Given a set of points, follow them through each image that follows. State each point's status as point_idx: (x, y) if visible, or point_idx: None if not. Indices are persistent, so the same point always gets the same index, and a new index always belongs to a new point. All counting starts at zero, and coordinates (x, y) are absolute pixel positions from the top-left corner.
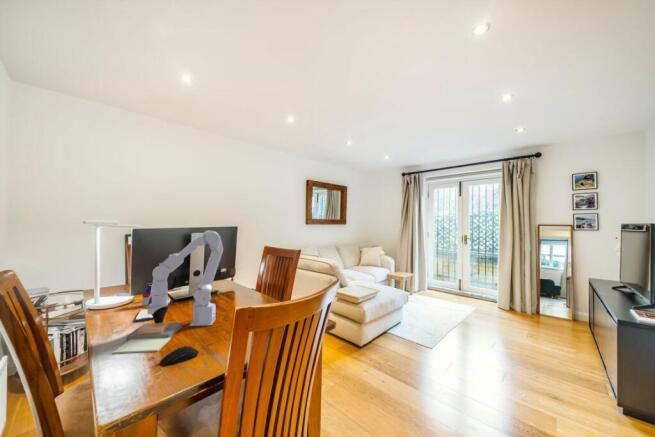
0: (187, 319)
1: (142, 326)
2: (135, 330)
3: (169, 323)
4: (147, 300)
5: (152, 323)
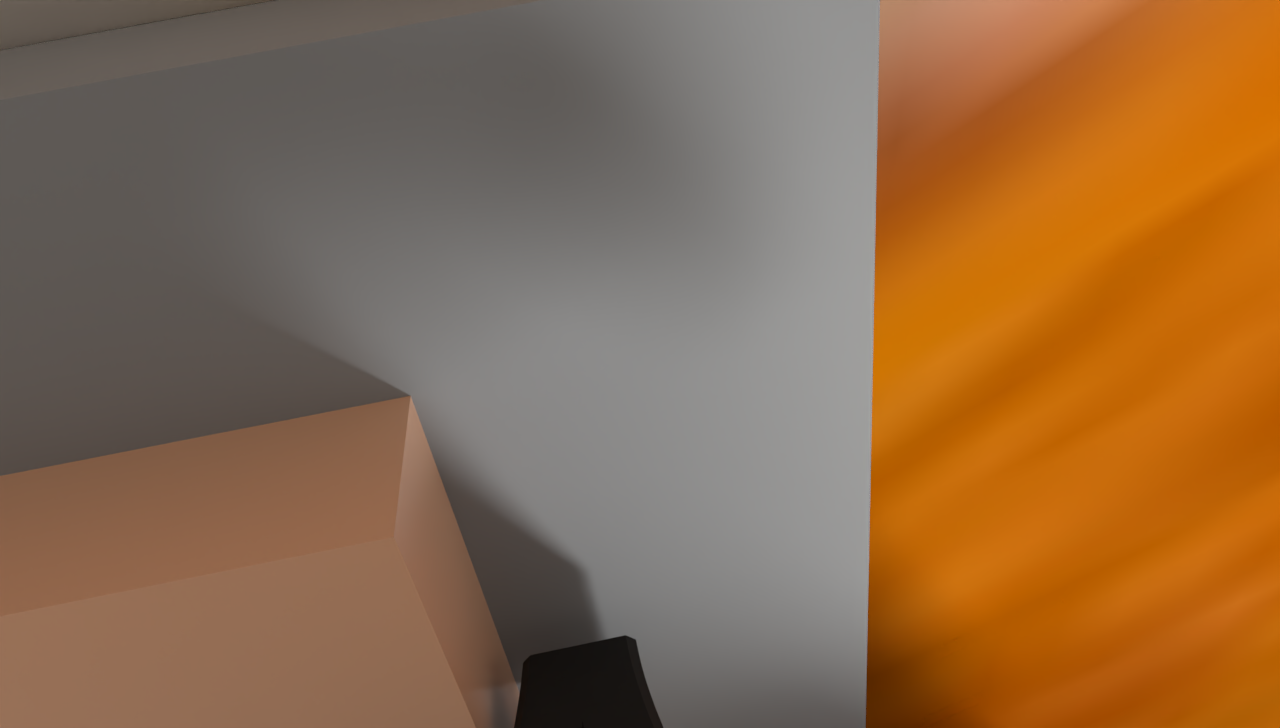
0: (1258, 639)
1: (15, 629)
2: (38, 146)
3: (822, 719)
4: None
5: (438, 719)
